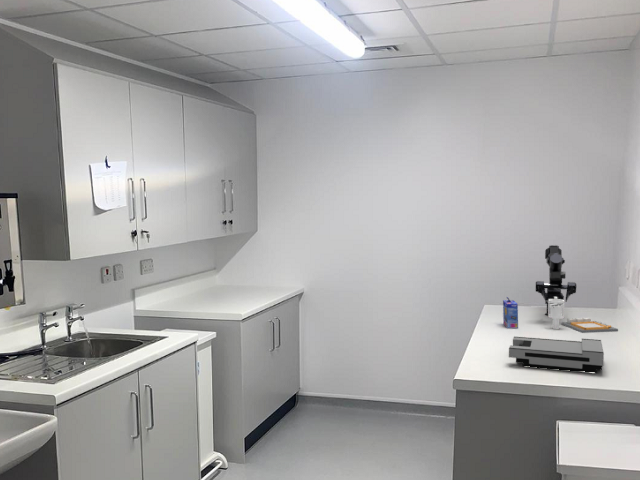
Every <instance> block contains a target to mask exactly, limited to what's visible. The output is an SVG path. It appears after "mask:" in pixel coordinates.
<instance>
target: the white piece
mask: <svg viewBox="0 0 640 480" xmlns="http://www.w3.org/2000/svg"><path fill="white" fill-rule="evenodd" d="M550 303H554V304H550ZM562 303H563V304H562ZM557 304H562V305H558V306H555V305H557ZM552 305H554V306H552ZM553 307H554V308H553ZM547 317H548V318H550V319H552V329H553V330H560V320H562V319H565V299H564V300H562V299H557V297H554V299H549V300H548V315H547Z"/></svg>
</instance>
